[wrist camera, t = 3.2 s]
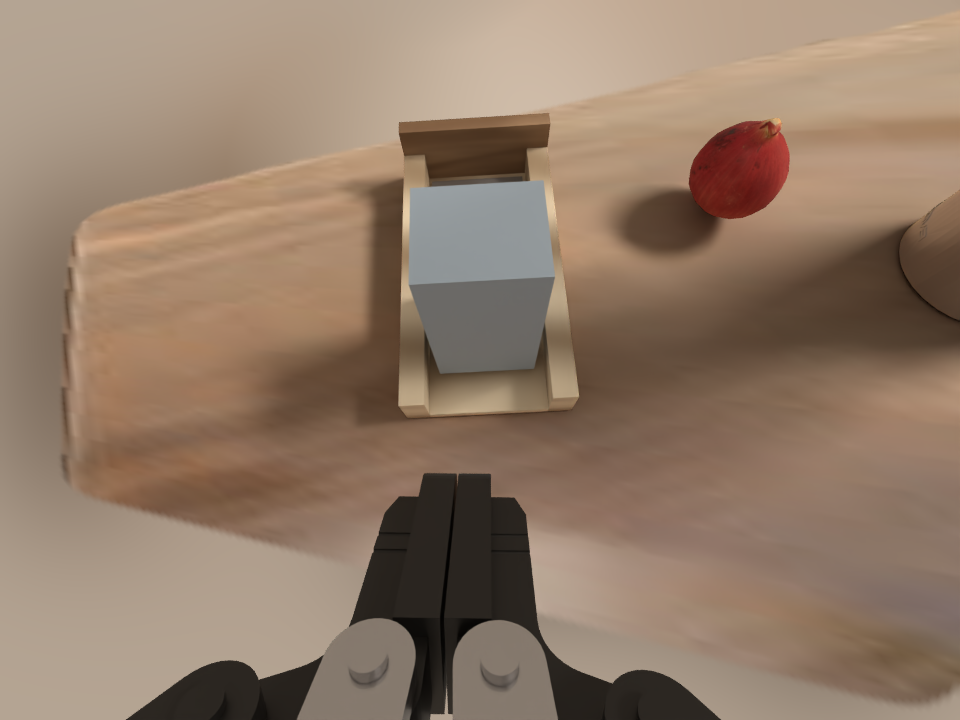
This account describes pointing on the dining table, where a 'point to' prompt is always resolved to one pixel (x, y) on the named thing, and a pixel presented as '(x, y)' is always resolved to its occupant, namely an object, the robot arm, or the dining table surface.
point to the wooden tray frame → (524, 157)
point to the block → (481, 273)
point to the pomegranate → (740, 169)
